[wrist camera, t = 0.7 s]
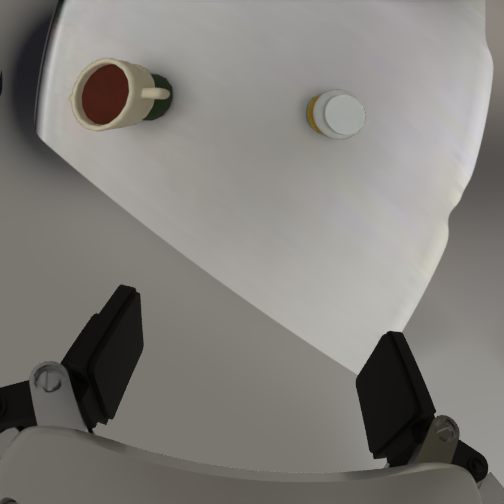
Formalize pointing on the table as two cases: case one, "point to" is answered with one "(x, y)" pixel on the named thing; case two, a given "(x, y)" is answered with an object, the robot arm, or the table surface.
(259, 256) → the table surface
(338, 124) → the supplement bottle
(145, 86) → the character mug
